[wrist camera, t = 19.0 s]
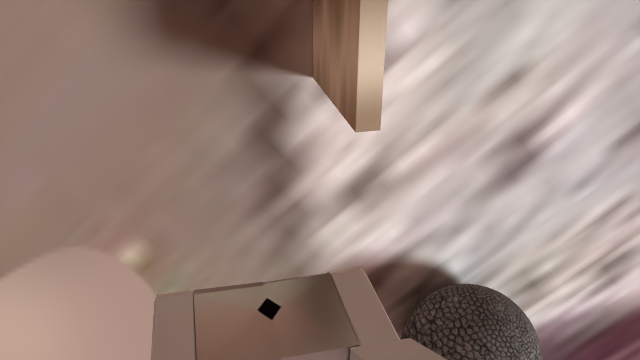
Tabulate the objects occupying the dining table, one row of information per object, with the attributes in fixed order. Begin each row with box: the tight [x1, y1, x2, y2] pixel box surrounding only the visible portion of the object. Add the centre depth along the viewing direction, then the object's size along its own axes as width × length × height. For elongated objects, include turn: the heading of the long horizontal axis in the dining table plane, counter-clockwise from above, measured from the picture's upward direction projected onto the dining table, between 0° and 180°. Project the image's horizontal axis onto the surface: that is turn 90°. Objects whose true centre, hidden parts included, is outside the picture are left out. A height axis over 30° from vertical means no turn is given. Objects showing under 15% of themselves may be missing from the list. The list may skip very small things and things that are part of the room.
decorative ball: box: [401, 284, 542, 360], centre depth 40 cm, size 10×10×10 cm
